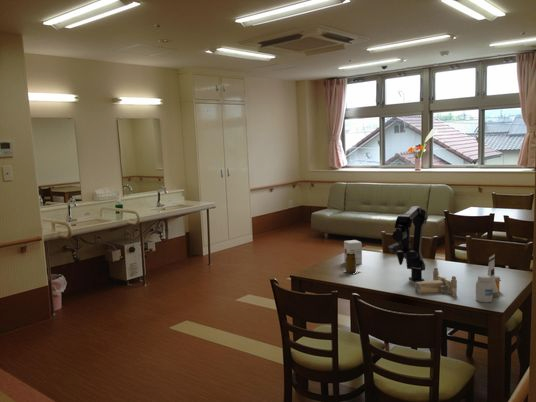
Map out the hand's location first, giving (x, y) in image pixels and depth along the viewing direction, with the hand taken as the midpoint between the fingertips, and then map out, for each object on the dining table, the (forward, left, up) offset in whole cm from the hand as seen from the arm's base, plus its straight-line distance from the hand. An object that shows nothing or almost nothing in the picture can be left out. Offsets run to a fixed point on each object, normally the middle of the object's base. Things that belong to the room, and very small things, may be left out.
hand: (404, 266), depth 251 cm
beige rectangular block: (+8, +10, -12) cm, 18 cm away
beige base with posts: (+8, +18, -12) cm, 23 cm away
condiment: (-39, -16, -12) cm, 44 cm away
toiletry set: (+23, +35, -12) cm, 43 cm away
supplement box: (-60, -8, -12) cm, 62 cm away
